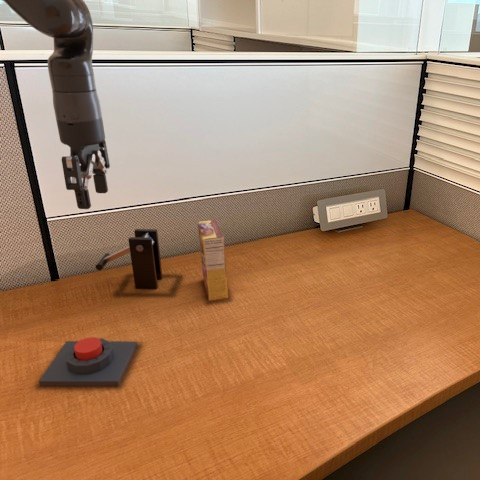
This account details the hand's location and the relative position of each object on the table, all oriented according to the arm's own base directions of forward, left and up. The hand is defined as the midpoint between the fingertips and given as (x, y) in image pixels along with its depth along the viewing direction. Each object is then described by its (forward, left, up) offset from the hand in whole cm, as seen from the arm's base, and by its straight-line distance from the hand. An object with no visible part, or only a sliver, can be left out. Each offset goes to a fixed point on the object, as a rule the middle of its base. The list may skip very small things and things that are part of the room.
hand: (93, 200), depth 93 cm
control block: (+14, -21, -20) cm, 33 cm away
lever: (+4, +3, -13) cm, 13 cm away
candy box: (+21, +7, -20) cm, 30 cm away
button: (+14, -21, -17) cm, 31 cm away
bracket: (+7, +4, -20) cm, 22 cm away
